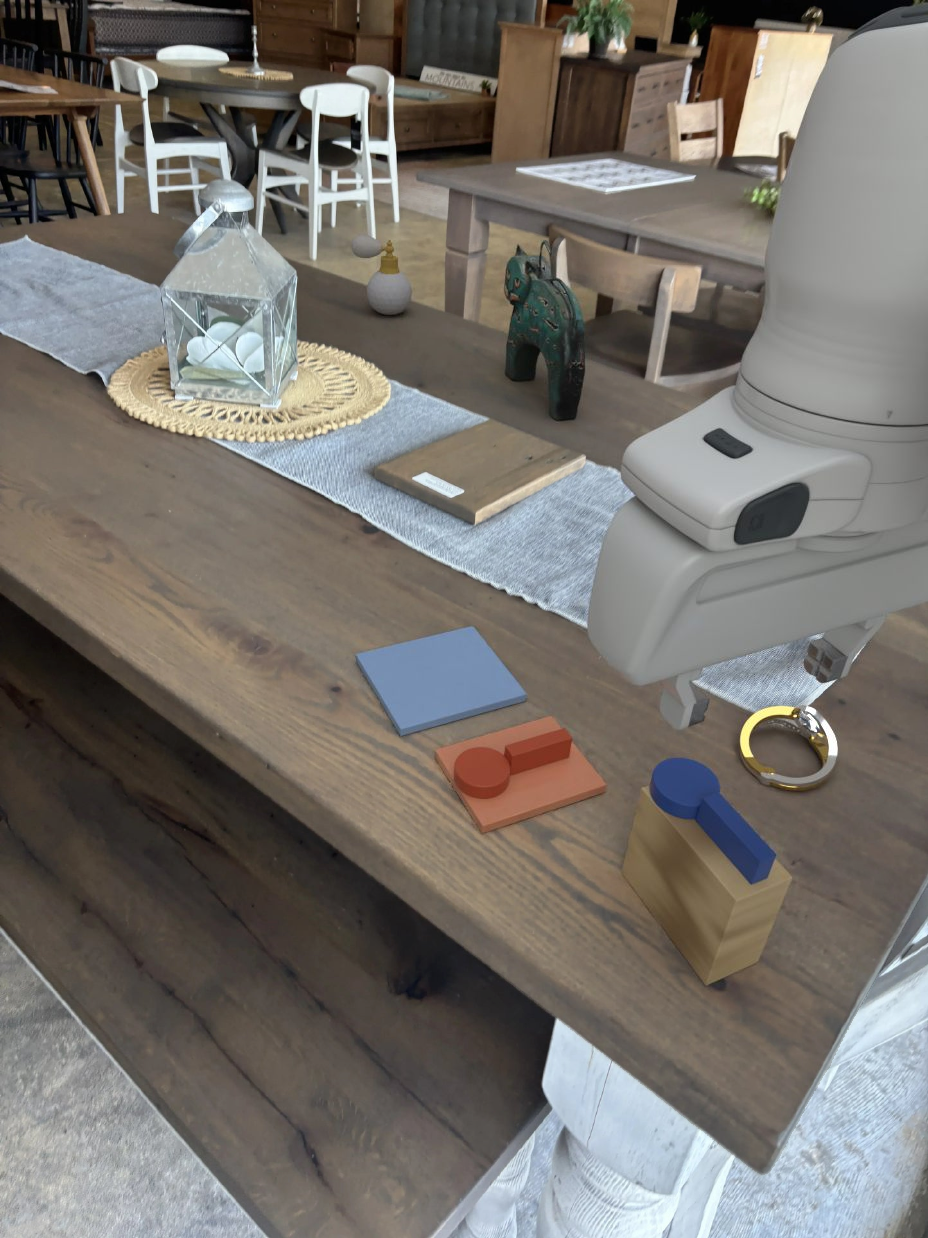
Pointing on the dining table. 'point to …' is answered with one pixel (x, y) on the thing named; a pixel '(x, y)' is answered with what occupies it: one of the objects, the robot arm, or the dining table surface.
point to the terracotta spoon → (507, 763)
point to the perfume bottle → (384, 277)
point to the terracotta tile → (525, 779)
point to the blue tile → (439, 679)
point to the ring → (807, 726)
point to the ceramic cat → (545, 331)
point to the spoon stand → (700, 892)
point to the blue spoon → (710, 814)
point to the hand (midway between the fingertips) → (754, 696)
